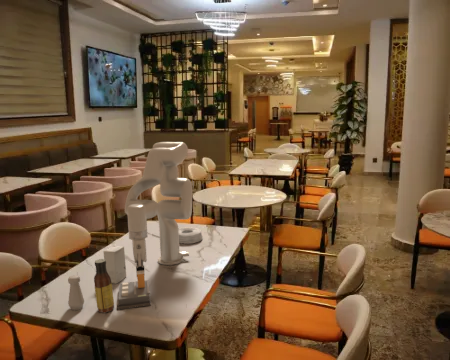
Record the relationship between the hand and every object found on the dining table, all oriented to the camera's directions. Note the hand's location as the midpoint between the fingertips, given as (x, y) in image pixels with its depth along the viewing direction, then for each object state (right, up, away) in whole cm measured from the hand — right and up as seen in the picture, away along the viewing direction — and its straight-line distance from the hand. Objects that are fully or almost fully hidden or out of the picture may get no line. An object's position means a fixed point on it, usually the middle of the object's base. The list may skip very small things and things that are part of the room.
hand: (140, 275), depth 165 cm
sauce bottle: (-10, -10, -14) cm, 20 cm away
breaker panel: (-2, -8, -4) cm, 9 cm away
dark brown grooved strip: (0, -9, -12) cm, 15 cm away
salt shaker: (-22, -10, -12) cm, 27 cm away
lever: (+1, -4, -3) cm, 5 cm away
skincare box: (-14, -5, +13) cm, 20 cm away
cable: (+13, +5, +67) cm, 68 cm away
